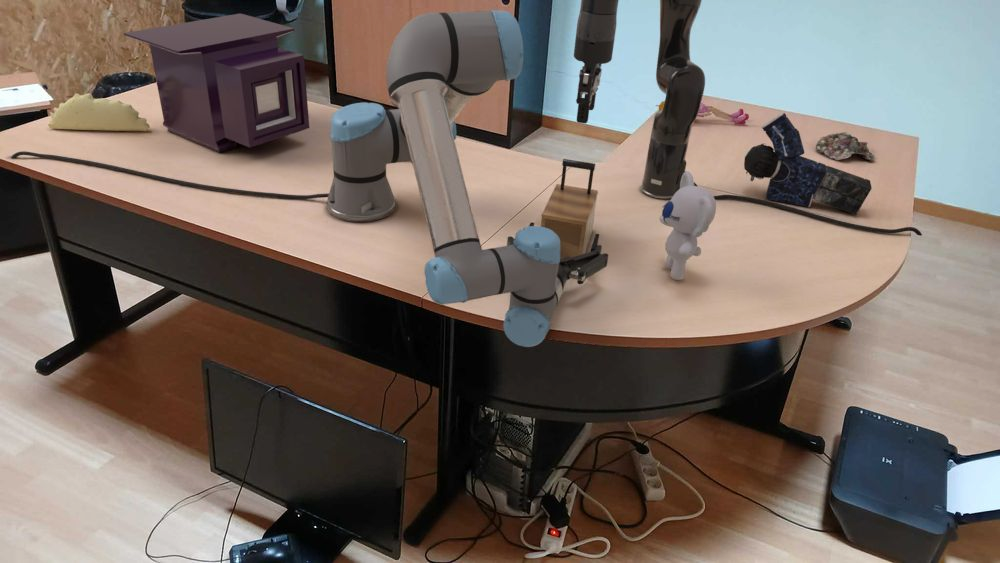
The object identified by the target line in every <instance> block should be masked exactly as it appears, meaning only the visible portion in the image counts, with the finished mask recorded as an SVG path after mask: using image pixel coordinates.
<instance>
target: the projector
mask: <svg viewBox="0 0 1000 563" xmlns="http://www.w3.org/2000/svg"><path fill="white" fill-rule="evenodd" d="M294 31H295V28H294V27H292V26H287V25H283V24H279V23H276V22H272V21H269V20H264V19H262V18H259V17H256V16H255V17H254V16H252V15H247V14H244V13H235V14H230V15H224V16H217V17H212V18H205V19H200V20H194V21H188V22H181V23H175V24H169V25H163V26H157V27H151V28H146V29H145V28H144V29H139V30H134V31H128V32H123V36H125V37H127V38H130V39H133V40H136V41H138V42H142V43H145V44H148V45H149V50H150V54H151V60H152V66H153V71H154V75H155V76H154V77H155V82H156V87H157V92H158V97H159V102H160V107H161V113H162V118H163V122H162V126H163V127H165V128H166V129H167V131H168V132H170V133H172V134H175V135H177V136H179V137H182V138H184V139H187V140H189V141H191V142H193V143H196V144H197V145H200V146H203V147H205V148H207V149H209V150H212V151H215V152H217V153H219V154H220V153H224V152H227V151H229V150H233V149H235V148H237V144H240V145H242V146H245V147H247V148H249V149H250V148H253V147H256V146H259V145H262V144H266V143H269V142H271V141H275V140H278V139H281V138H285V137H287V136H289V135H293V134H296V133H300V132H302V131H305V130H308V129H310V118H309V105H308V94H307V93H308V92H307V80H306V79H307V78H306V68H305V56H304V54H303V53H302V54H301V53H297V52H296V51H295V52H294V51H291V50H288V49H285V48H282V47H279V44H278V40H277V38H280V37H282V36H286V35H287V34H291V33H292V32H294Z"/></svg>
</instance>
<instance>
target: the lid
mask: <svg viewBox="0 0 1000 563" xmlns="http://www.w3.org/2000/svg"><path fill="white" fill-rule="evenodd" d="M561 166H562V172H561V180H560V184H559V183H556V185H554V186H555V187H554V189H553V191H552V192H551V194H550V196H549V199H548V201H547V203H546V205H545V207H544V209H543V211H542V213H541V219H542V218H543V219H549V220H555V221H561V222H567V223H573V224H578V225H584V226H586V225H587V222H588V220H589V217H590V214H591V211H592V208H593V205H594V203H595V200H596V197H597V198H598V195H599V190H597V189H592V187H593V186H592V185H593V180H594V171H595V169H596V163H594V162H586V161H580V160H576V159H575V160H574V159H567V158H563V159H562V164H561ZM567 167H568V168H574V169H580V170H585V171H586V170H587V171H589V177H588V183H587V188H584V187H578V186H571V185H566V184H565V183H566V176H567ZM596 201H597V200H596Z"/></svg>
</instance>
